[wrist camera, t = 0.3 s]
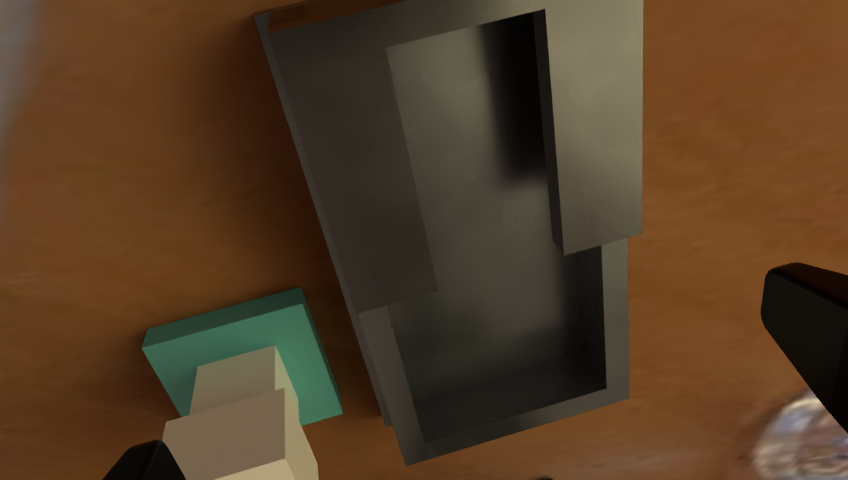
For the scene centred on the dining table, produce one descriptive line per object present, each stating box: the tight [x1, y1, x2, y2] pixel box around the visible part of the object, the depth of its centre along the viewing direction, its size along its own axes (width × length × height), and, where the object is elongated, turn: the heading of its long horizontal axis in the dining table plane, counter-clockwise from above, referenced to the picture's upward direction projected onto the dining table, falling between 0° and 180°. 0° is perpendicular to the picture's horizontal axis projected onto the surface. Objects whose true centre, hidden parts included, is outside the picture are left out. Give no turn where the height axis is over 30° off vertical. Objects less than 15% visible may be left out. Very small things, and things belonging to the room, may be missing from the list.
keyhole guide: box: [253, 0, 643, 466], centre depth 22 cm, size 18×11×4 cm, turn 11°
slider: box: [142, 287, 343, 480], centre depth 22 cm, size 6×6×7 cm
